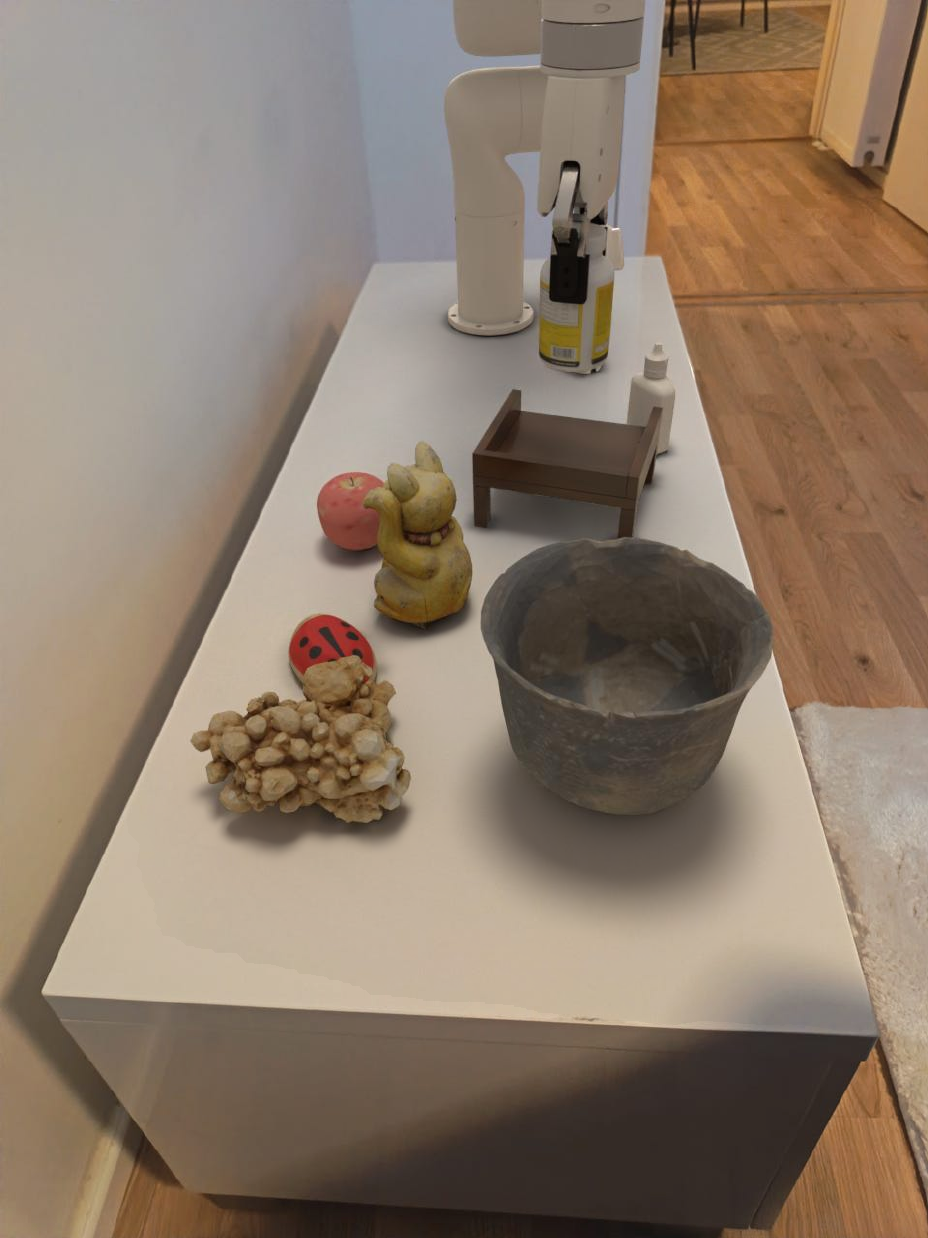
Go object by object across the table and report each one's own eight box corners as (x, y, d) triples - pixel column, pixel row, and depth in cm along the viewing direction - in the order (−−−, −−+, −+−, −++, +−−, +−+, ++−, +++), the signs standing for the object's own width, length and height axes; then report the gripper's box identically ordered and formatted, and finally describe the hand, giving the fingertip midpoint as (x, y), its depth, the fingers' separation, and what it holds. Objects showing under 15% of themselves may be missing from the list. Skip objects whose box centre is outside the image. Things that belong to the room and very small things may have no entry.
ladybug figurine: (340, 620, 78) (335, 590, 76) (399, 683, 72) (395, 652, 70) (273, 651, 75) (265, 620, 73) (327, 719, 69) (321, 688, 67)
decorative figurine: (415, 563, 84) (403, 423, 74) (492, 585, 81) (491, 443, 72) (363, 624, 78) (343, 479, 68) (446, 649, 75) (437, 502, 65)
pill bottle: (606, 345, 84) (617, 218, 76) (608, 376, 79) (619, 242, 71) (539, 344, 84) (542, 218, 77) (536, 374, 79) (540, 242, 72)
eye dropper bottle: (661, 431, 102) (674, 332, 94) (669, 456, 98) (684, 354, 90) (623, 432, 102) (634, 333, 94) (630, 456, 98) (641, 355, 90)
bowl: (567, 914, 56) (580, 764, 46) (444, 733, 68) (434, 582, 58) (779, 805, 62) (832, 650, 52) (632, 656, 74) (652, 507, 64)
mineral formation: (418, 833, 61) (195, 865, 58) (393, 718, 72) (206, 740, 69) (414, 742, 57) (175, 773, 54) (389, 635, 68) (189, 656, 65)
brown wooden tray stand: (512, 457, 99) (512, 388, 93) (653, 478, 95) (663, 407, 89) (473, 525, 89) (471, 453, 83) (630, 552, 85) (639, 477, 79)
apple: (397, 562, 84) (390, 492, 79) (321, 567, 84) (309, 497, 79) (396, 519, 90) (390, 451, 85) (325, 524, 90) (314, 455, 85)
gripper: (568, 29, 72) (559, 251, 84) (510, 66, 60) (509, 320, 72) (659, 30, 71) (637, 257, 82) (618, 68, 58) (598, 329, 70)
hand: (577, 284), depth 77 cm, fingers closed on pill bottle, 6 cm apart
